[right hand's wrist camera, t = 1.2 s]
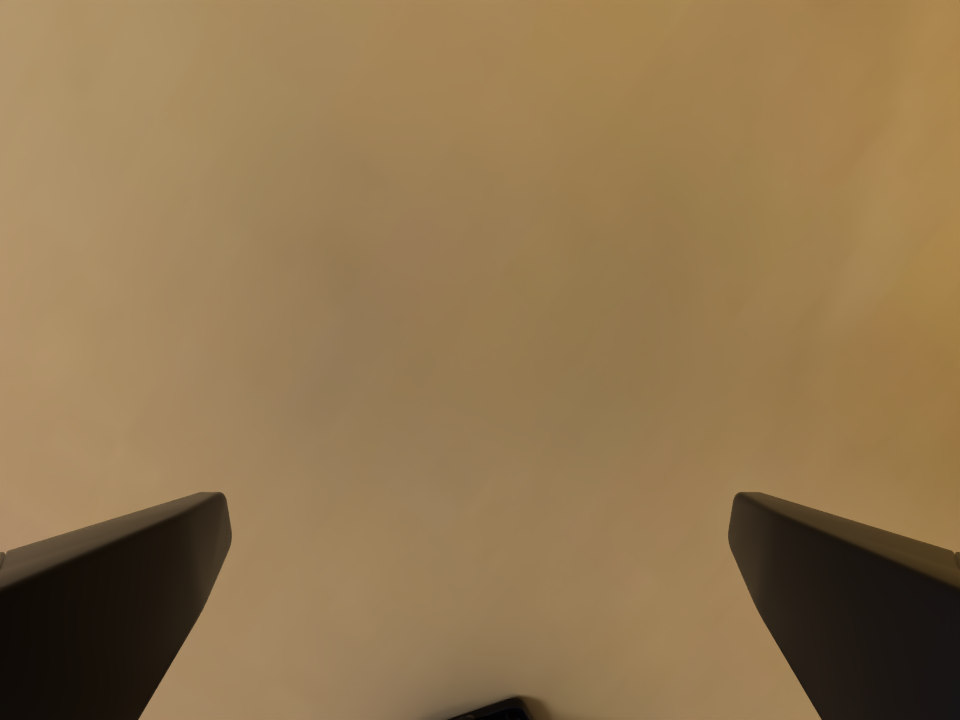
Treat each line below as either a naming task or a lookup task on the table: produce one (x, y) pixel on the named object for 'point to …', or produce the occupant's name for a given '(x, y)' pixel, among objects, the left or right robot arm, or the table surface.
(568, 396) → the table surface
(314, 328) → the table surface
